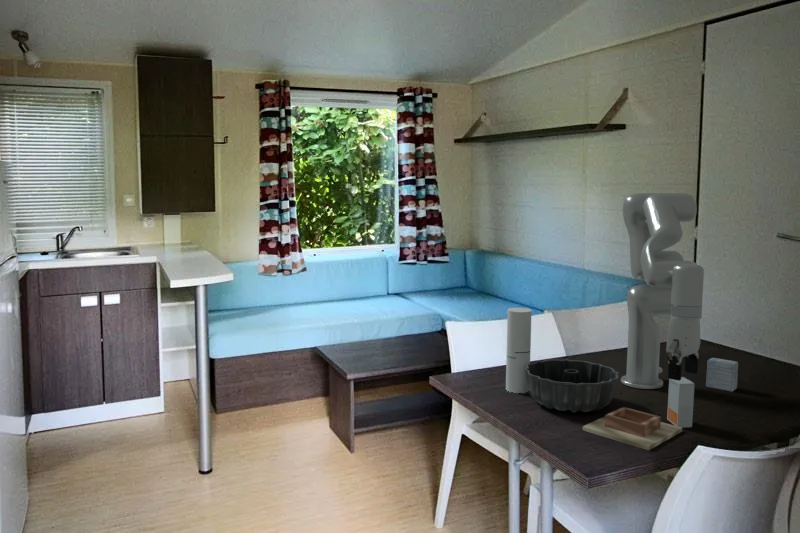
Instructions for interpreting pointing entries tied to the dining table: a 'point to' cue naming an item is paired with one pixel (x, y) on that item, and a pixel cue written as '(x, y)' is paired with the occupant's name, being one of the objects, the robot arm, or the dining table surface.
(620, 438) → the collar board
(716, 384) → the medicine box
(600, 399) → the bundt pan
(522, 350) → the cylindrical container
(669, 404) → the skincare box
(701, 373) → the dining table surface
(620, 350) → the dining table surface
